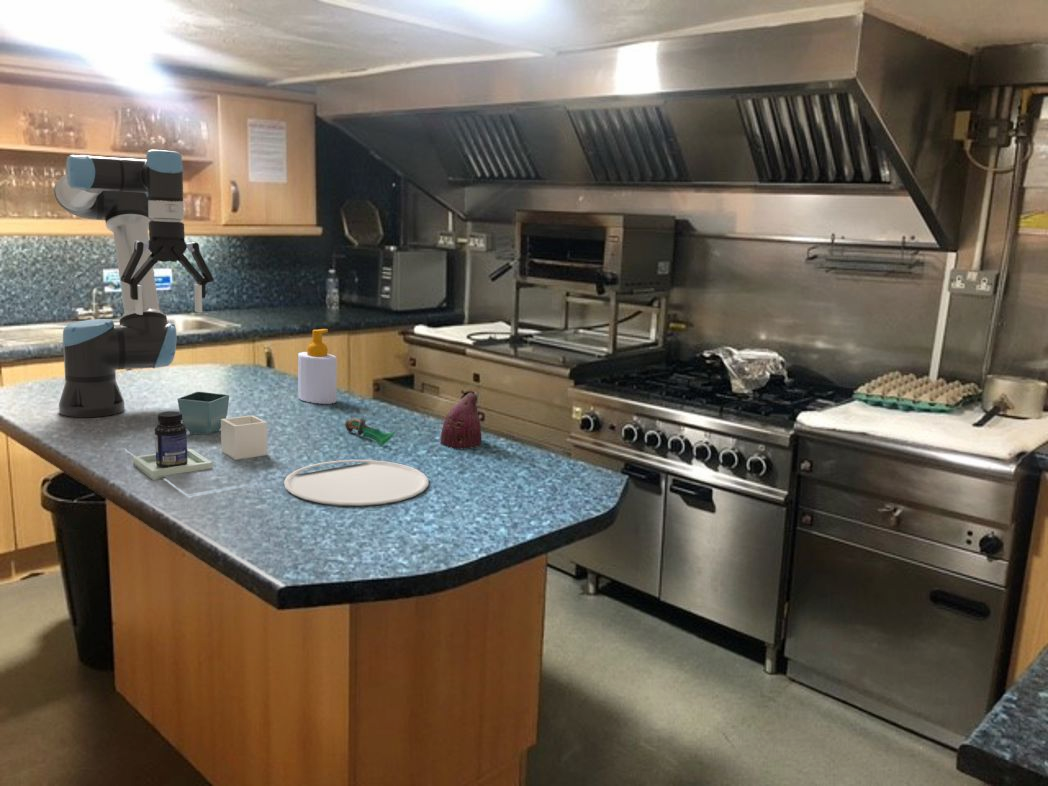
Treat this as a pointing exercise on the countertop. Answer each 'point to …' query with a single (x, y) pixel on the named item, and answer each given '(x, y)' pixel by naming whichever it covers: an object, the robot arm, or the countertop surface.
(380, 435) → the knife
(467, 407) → the vegetable
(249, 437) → the open cream box
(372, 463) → the plate
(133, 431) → the countertop surface
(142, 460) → the tray
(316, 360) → the soap bottle
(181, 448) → the pill bottle
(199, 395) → the flower pot
